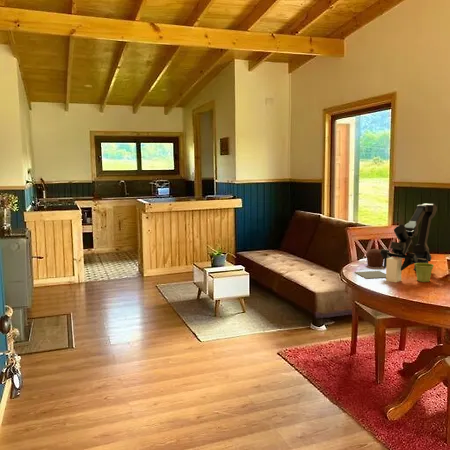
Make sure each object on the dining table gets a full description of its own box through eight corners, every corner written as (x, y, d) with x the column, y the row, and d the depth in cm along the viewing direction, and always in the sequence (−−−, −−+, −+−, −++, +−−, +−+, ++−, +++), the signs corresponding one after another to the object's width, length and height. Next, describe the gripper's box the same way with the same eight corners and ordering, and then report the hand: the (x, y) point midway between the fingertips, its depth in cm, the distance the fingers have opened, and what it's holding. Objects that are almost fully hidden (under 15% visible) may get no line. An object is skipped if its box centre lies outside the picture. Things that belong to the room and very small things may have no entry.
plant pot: (431, 283, 230) (432, 267, 229) (412, 281, 235) (412, 265, 234) (434, 279, 238) (435, 263, 237) (415, 277, 243) (415, 262, 242)
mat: (379, 271, 259) (379, 270, 259) (392, 277, 244) (392, 276, 244) (354, 272, 257) (354, 271, 257) (365, 278, 242) (365, 278, 242)
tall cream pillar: (391, 278, 241) (391, 256, 240) (401, 280, 237) (401, 258, 236) (385, 280, 238) (386, 258, 236) (396, 282, 233) (396, 259, 232)
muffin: (361, 264, 278) (361, 248, 277) (373, 262, 284) (374, 247, 282) (376, 268, 268) (377, 251, 267) (389, 266, 274) (389, 249, 272)
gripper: (382, 234, 244) (371, 257, 238) (415, 238, 230) (405, 262, 224) (389, 247, 250) (378, 269, 244) (422, 251, 236) (411, 275, 230)
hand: (392, 268), depth 236 cm, fingers open, 9 cm apart
